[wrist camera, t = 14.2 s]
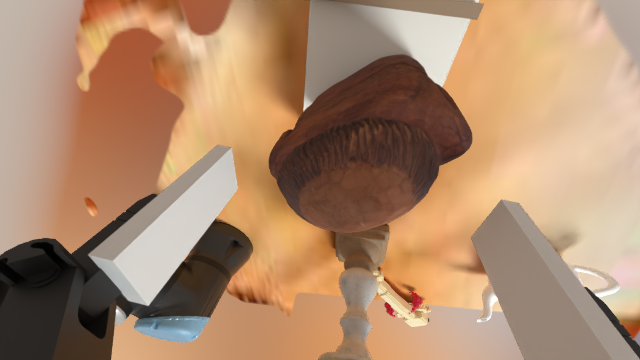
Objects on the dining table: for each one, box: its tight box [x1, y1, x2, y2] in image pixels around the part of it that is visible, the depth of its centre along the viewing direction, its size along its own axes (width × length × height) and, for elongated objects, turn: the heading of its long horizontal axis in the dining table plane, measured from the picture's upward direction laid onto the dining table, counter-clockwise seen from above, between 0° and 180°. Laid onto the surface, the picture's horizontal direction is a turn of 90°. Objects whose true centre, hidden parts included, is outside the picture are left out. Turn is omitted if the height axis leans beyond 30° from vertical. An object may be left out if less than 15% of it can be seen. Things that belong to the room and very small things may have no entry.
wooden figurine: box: [269, 54, 472, 233], centre depth 17 cm, size 12×6×18 cm, turn 120°
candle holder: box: [318, 225, 389, 360], centre depth 41 cm, size 11×11×24 cm
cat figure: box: [373, 267, 431, 327], centre depth 56 cm, size 10×9×25 cm
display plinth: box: [303, 0, 484, 112], centre depth 27 cm, size 14×18×10 cm
